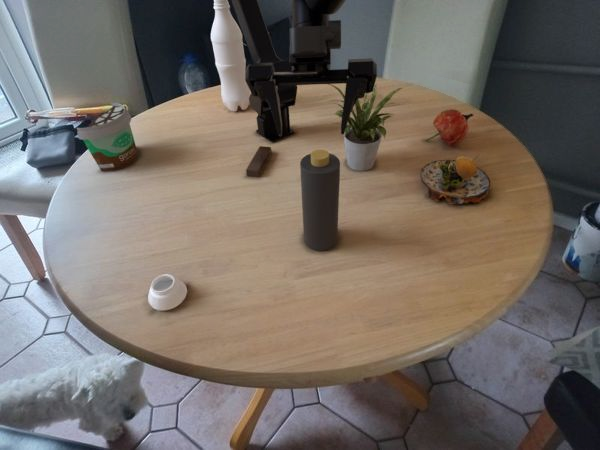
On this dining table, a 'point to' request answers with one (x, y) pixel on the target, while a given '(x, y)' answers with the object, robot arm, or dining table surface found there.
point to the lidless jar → (166, 292)
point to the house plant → (364, 131)
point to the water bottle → (229, 57)
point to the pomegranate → (451, 126)
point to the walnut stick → (258, 161)
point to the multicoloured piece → (455, 180)
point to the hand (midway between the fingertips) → (311, 134)
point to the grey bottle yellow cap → (320, 199)
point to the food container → (110, 139)
